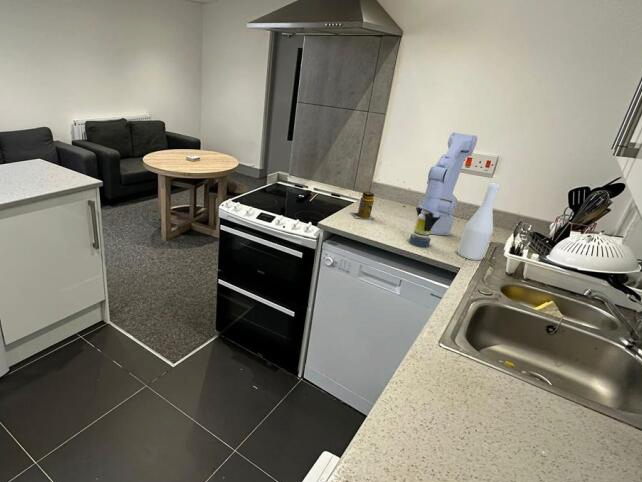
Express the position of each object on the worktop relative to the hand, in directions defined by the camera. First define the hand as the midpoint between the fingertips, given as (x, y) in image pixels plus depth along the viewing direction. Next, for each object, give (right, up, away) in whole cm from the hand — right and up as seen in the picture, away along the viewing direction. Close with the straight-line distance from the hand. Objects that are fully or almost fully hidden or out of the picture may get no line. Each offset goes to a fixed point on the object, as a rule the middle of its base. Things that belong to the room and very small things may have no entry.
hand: (423, 227), depth 162 cm
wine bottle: (+16, -12, -5) cm, 21 cm away
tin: (-1, -7, +3) cm, 7 cm away
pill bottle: (0, -3, +1) cm, 4 cm away
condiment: (-16, +6, +30) cm, 35 cm away
